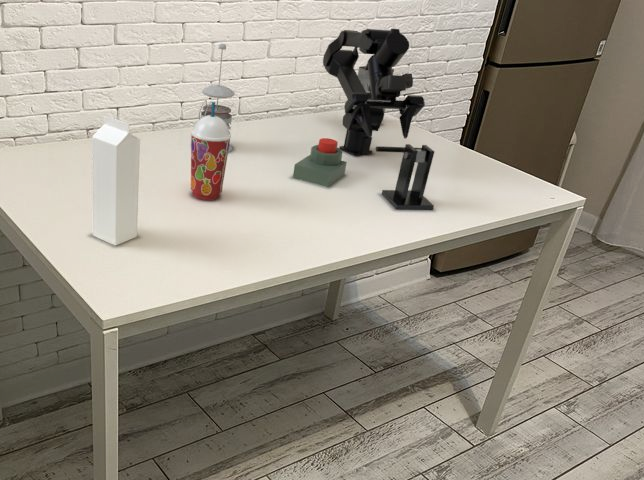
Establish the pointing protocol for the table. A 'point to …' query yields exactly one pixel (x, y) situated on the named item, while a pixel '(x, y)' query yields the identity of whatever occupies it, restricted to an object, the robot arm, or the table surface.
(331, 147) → the button
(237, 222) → the table surface
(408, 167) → the black stand
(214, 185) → the smoothie
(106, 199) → the milk
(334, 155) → the control block
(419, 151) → the lever
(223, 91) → the french press
